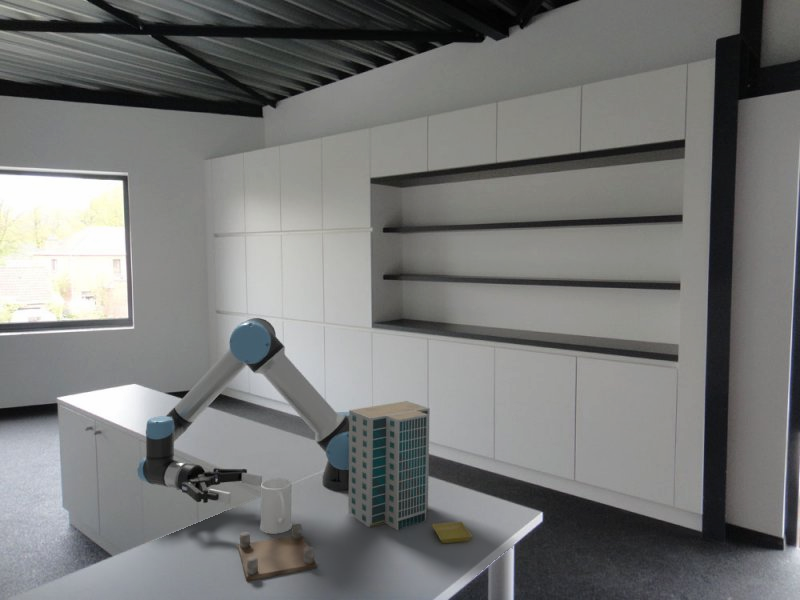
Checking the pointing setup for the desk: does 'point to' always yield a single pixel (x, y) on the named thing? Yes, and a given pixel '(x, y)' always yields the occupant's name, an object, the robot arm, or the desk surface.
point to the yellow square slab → (452, 532)
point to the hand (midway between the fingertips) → (246, 489)
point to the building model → (389, 464)
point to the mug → (276, 506)
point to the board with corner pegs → (275, 555)
